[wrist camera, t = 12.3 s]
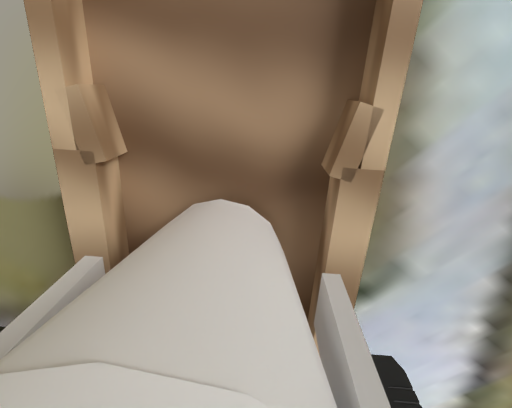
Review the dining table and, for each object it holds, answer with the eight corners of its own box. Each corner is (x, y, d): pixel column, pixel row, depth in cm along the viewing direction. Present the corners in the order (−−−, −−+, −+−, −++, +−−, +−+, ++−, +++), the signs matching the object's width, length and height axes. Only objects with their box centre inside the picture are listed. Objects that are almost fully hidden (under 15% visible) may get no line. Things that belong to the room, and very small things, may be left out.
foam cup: (173, 133, 13) (-687, 532, 1) (345, 220, 15) (706, 843, 3) (114, 284, 17) (-294, 798, 5) (258, 345, 18) (236, 879, 6)
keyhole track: (46, -159, 11) (-59, -275, 7) (422, -140, 11) (497, -252, 7) (117, 322, 19) (83, 373, 16) (329, 337, 19) (342, 394, 16)
